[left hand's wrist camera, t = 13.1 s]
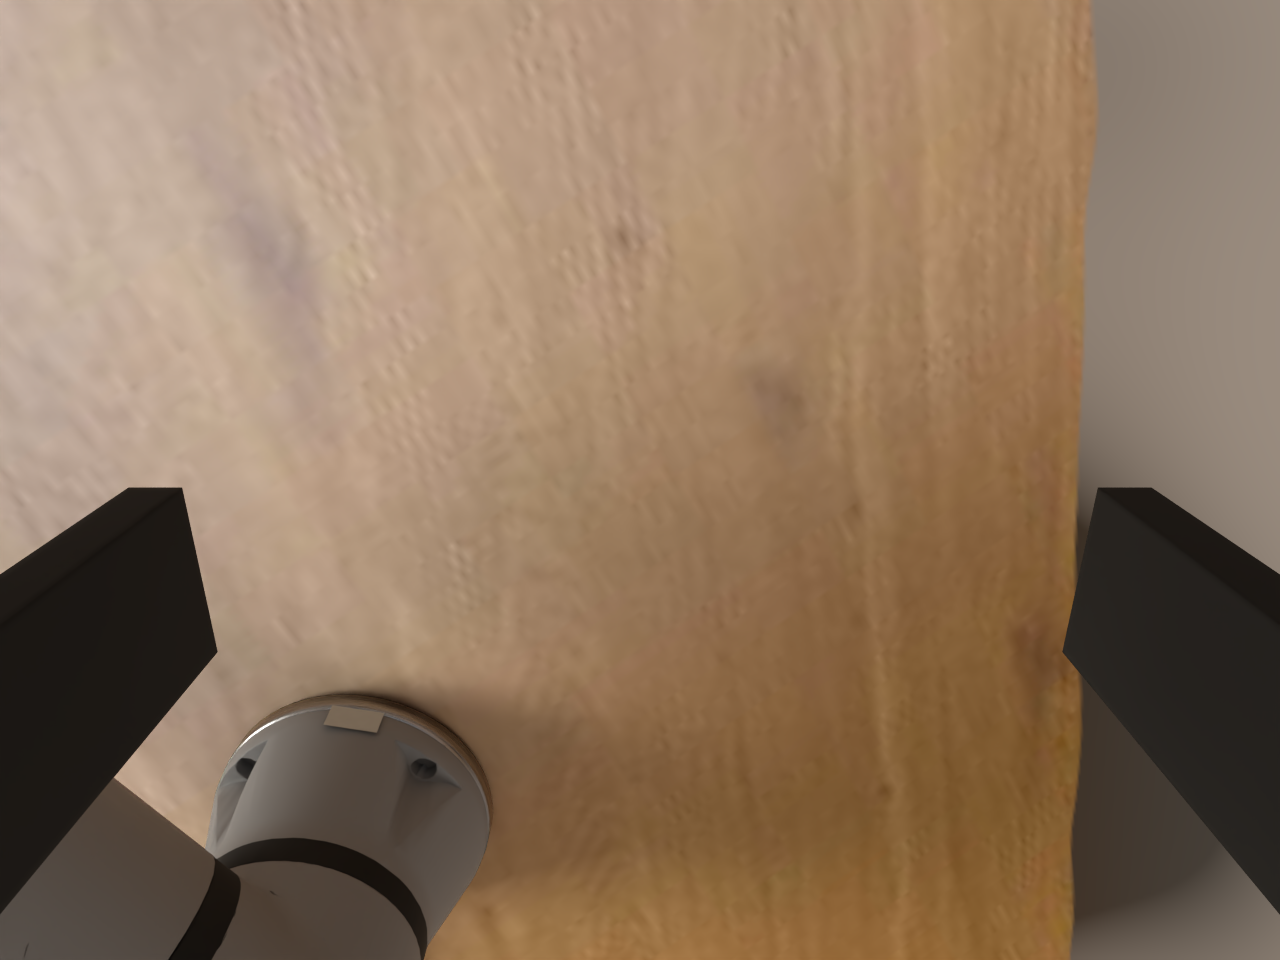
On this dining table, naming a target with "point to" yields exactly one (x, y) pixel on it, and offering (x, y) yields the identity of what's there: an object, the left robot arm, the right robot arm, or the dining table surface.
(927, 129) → the dining table surface
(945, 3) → the dining table surface
